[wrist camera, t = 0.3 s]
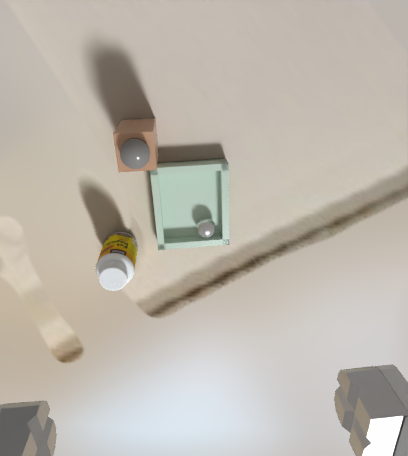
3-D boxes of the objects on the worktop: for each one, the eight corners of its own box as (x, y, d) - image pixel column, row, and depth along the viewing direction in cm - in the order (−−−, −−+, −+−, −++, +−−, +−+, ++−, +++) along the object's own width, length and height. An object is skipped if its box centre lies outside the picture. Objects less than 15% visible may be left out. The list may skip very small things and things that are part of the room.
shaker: (121, 120, 51) (111, 136, 42) (155, 118, 51) (152, 133, 42) (126, 153, 53) (117, 175, 44) (158, 151, 53) (156, 172, 44)
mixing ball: (194, 215, 57) (196, 223, 55) (214, 214, 58) (216, 222, 55) (195, 232, 59) (197, 241, 56) (214, 231, 59) (217, 240, 56)
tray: (150, 163, 54) (149, 168, 52) (225, 158, 55) (228, 163, 52) (158, 242, 60) (158, 250, 57) (226, 237, 60) (229, 244, 58)
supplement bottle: (134, 228, 58) (128, 260, 49) (140, 257, 60) (136, 293, 52) (100, 232, 58) (88, 265, 49) (107, 261, 60) (97, 298, 52)
